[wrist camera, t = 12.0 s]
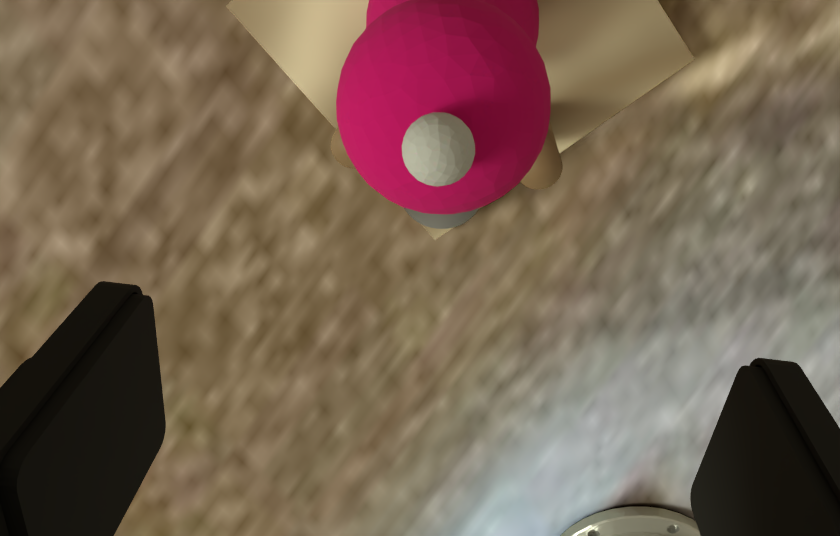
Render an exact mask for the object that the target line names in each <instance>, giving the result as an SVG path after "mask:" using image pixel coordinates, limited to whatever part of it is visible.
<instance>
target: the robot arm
mask: <svg viewBox="0 0 840 536" xmlns="http://www.w3.org/2000/svg"><path fill="white" fill-rule="evenodd" d="M165 427H166V423H165V413H164V403H163V394H162V384H161V375H160V365H159V356H158V346H157V337H156V328H155V318H154V309H153V302H152V299H151V297H150V296H146V295H143V294H142V291H141V289H140V287H139V286H137V285H130V284H122V283H113V282H105V281H103V282H99V283H98V284H96V285H95V286H94V288H93V289H92V290H91V291H90V292H89V293H88V294H87V295H86V297H85V298H84V299H83V300H82V301H81V302H80V303H79V305H78V306H77V307H76V308H75V309H74V310H73V311H72V312H71V314H70V315H69V316H68V317H67V318H66V319H65V320H64V322H63V323H62V324H61V325H60V326H59V327H58V328H57V329H56V331H55V332H54V333H53V334H52V335H51V336H50V337H49V339H48V340H47V341H46V342H45V343H44V344H43V345H42V346H41V348H40V349H39V350H38V351H37V352H36V353H35V354H34V356H33V357H32V358H29V359H27V360H26V361H25V362H24V363H23V364H21V365H20V366H19V367H18V369H17V370H16V371H15V372H14V373H13V374H12V375H11V376H10V378H9V379H8V380H7V381H6V382H5V383H4V384H3V385H2V387H1V388H0V536H114V534H115V532H116V530H117V528H118V526H119V524H120V523H121V521H122V519H123V517H124V515H125V513H126V511H127V509H128V508H129V506H130V504H131V502H132V500H133V498H134V496H135V494H136V492H137V491H138V489H139V487H140V485H141V483H142V481H143V479H144V477H145V475H146V474H147V472H148V470H149V468H150V466H151V464H152V462H153V460H154V459H155V457H156V455H157V453H158V451H159V449H160V447H161V445H162V442H163V439H164V435H165ZM691 507H692V511H693V514H694V517H695V520H696V521H694V520H693V519H691V518H688V517H686V516H684V515H682V514H680V513H677V512H673V511H670V510H666V509H662V508H654V507H622V508H615V509H610V510H606V511H603V512H599V513H596V514H594V515H591V516H589V517H587V518H584V519H582V520H581V521H579V522H577V523H576V524H574V525H573V526H571V527H569V528H568V529H567V530H566V531H565V532H564V533H563V534H562V535H561V536H840V428H839V427H838V425H837V423H836V422H835V420H834V419H833V417H832V416H831V414H830V413H829V411H828V409H827V408H826V406H825V405H824V403H823V402H822V400H821V398H820V397H819V395H818V394H817V392H816V391H815V389H814V388H813V386H812V384H811V383H810V381H809V380H808V378H807V377H806V375H805V374H804V372H803V370H802V369H801V367H800V366H799V365H798V364H797V363H794V362H789V361H781V360H772V359H764V358H757V359H754V360H753V361H752V362H751V364H750V366H742V367H741V368H740V369H739V371H738V372H737V375H736V377H735V380H734V382H733V385H732V387H731V390H730V392H729V395H728V397H727V400H726V402H725V405H724V407H723V410H722V412H721V415H720V417H719V420H718V422H717V425H716V427H715V430H714V432H713V435H712V437H711V440H710V442H709V445H708V447H707V450H706V452H705V455H704V457H703V460H702V462H701V465H700V467H699V470H698V472H697V475H696V477H695V480H694V482H693V485H692V488H691Z"/></svg>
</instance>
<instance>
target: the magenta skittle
mask: <svg viewBox="0 0 840 536" xmlns="http://www.w3.org/2000/svg"><path fill="white" fill-rule="evenodd" d="M538 34H539V7H538V1H537V0H369V3H368V8H367V13H366V29H365V30H364V32H363V33H362V34H361V35H360V36H359V38H358V39H357V40H356V41H355V42H354V43H353V45H352V48H351V50H350V52H349V54H348V56H347V58H346V60H345V63H344V65H343V67H342V70H341V74H340V79H339V83H338V89H337V97H336V115H337V123H338V127H339V131H340V135H341V139H342V142H343V145H344V147H345V150H346V152H347V155H348V156H349V158H350V160H351V161H352V163H353V165H354V166H355V168H356V169H357V171H358V172H359V174H360V175H361V176H362V177H363V178H364V180H365V181H366V182H367V183H368V184H369V185H370V186H371V187H372V188H374V189H375V190H376V191H378V192H379V193H380V194H381V195H383V196H384V197H385V198H387V199H388V200H390V201H392V202H394V203H396V204H398V205H400V206H402V207H404V208H407V209H411V210H414V211H418V212H421V213H428V214H457V213H462V212H468V211H472V210H475V209H477V208H480V207H483V206H486V205H488V204H490V203H491V202H493V201H495V200H497V199H499V198H500V197H502V196H504V195H505V194H506V193H508V192H509V191H510V190H511V189H513V188H514V187H515V186H516V185H517V184H518V183H519V182H520V181H521V180H522V179H523V178H524V176H525V175H526V174H527V173H528V172H529V170H530V169H531V168H532V166H533V164H534V162H535V161H536V159H537V157H538V156H539V154H540V152H541V150H542V148H543V145H544V142H545V139H546V136H547V133H548V128H549V120H550V113H551V87H550V84H549V80H548V76H547V72H546V68H545V64H544V61H543V59H542V58H541V56H540V54H539V52H538V50H537V48H536V44H537V40H538Z"/></svg>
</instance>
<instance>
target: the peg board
mask: <svg viewBox="0 0 840 536" xmlns="http://www.w3.org/2000/svg"><path fill="white" fill-rule="evenodd" d="M537 1H538V7H539V34H538V40H537V44H536V48H537V50H538V52H539V54H540V56H541V58H542V59H543V61H544V64H545V68H546V72H547V76H548V80H549V84H550V87H551V113H550V120H549V128H548V133H547V136H546V139H545V142H544V145H543V148H542V150H541V152H540V154H539V156H538V157H537V159H536V161H535V162H534V164H533V166H532V168H531V169H530V170H529V172H528V173H527V174H526V175H525V176H524V178H523V179H522V180H521V181H520V182H521V183H522V184H523V185H525V186H526V187H528V188H531V189H545V188H548V187H550V186H552V185H553V184H554V183H555V182H556V181H557V180H558V179H559V177H560V175H561V173H562V161H561V158H560V154H559V153H561V152H562V151H564V150H565V149H567V148H568V147H569V146H571V145H572V144H574V143H575V142H577V141H578V140H580V139H581V138H582V137H584V136H585V135H587V134H588V133H590V132H591V131H592V130H594V129H595V128H597V127H598V126H600V125H601V124H603V123H604V122H605V121H607V120H608V119H610V118H611V117H613V116H614V115H615V114H617V113H618V112H620V111H621V110H623V109H624V108H625V107H627V106H628V105H630V104H631V103H633V102H634V101H636V100H637V99H638V98H640V97H641V96H643V95H644V94H646V93H647V92H648V91H650V90H651V89H653V88H654V87H656V86H657V85H659V84H660V83H661V82H663V81H664V80H666V79H667V78H669V77H670V76H671V75H673V74H674V73H676V72H677V71H679V70H680V69H682V68H683V67H684V66H686V65H687V64H689V63H690V62H692V61H693V60H694V59H695V58H694V57H693V55H692V54H691V52H690V51H689V49H688V47H687V46H686V44H685V43H684V41H683V39H682V38H681V36H680V35H679V33H678V32H677V30H676V28H675V27H674V25H673V24H672V22H671V21H670V19H669V17H668V16H667V14H666V13H665V11H664V10H663V8H662V6H661V5H660V3H659V2H658V0H537ZM368 3H369V0H232V1H231V2H230V3H229V4H228V5H226V7H227V8H228V9H229V10H230V11H231V12H232V14H233V15H234V16H235V17H236V18H237V19H238V20H239V21H240V23H241V24H242V25H243V26H244V27H245V28H246V29H247V30H248V32H249V33H250V34H251V35H252V36H253V37H254V38H255V39H256V40H257V42H258V43H259V44H260V45H261V46H262V47H263V48H264V49H265V51H266V52H267V53H268V54H269V55H270V56H271V57H272V58H273V60H274V61H275V62H276V63H277V64H278V65H279V66H280V67H281V68H282V70H283V71H284V72H285V73H286V74H287V75H288V76H289V77H290V79H291V80H292V81H293V82H294V83H295V84H296V85H297V86H298V87H299V89H300V90H301V91H302V92H303V93H304V94H305V95H306V96H307V98H308V99H309V100H310V101H311V102H312V103H313V104H314V105H315V107H316V108H317V109H318V110H319V111H320V112H321V113H322V114H323V115H324V117H325V118H326V119H327V120H328V121H329V122H330V123H331V124H332V126H333V127H334V128H335V129H336V131H335V133H334V135H333V137H332V140H331V151H332V154H333V156H334V157H335V159H336V160H337V161H338V162H339V163H340V164H342V165H343V166H345V167H348V168H353V169H356V168H355V166H354V165H353V163H352V161H351V160H350V158H349V156H348V155H347V152H346V150H345V147H344V145H343V142H342V139H341V135H340V131H339V127H338V123H337V115H336V97H337V89H338V83H339V79H340V74H341V70H342V67H343V65H344V63H345V60H346V58H347V56H348V54H349V52H350V50H351V48H352V45H353V43H354V42H355V41H356V40H357V39H358V38H359V36H360V35H361V34H362V33H363V32H364V30H365V29H366V13H367V8H368ZM480 208H482V207H480ZM480 208H477V209H475V210H472V211H468V212H462V213H457V214H428V213H421V212H418V211H414V210H411V209H407V208H404V209H405V210H406V212H407V213H408V214H409V215H410V216H411V217H412V218H413V219H414V220H415V221H417V222H419V223H420V224H421V225H422V226H423V227H424V229H425V230H426V231H427V232H428V233H429V234H430V235H431V236H432V238H433V239H434V240H436V239H437V238H439V237H440V236H442V235H443V234H444V233H446V232H447V231H449V230H450V229H452V228H453V227H456V226H459V225H461V224H463V223H465V222H466V221H468V220H469V219H470V218H471V217H472V216H473V215H474V214H475V213H476V212H477V210H479V209H480Z"/></svg>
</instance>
